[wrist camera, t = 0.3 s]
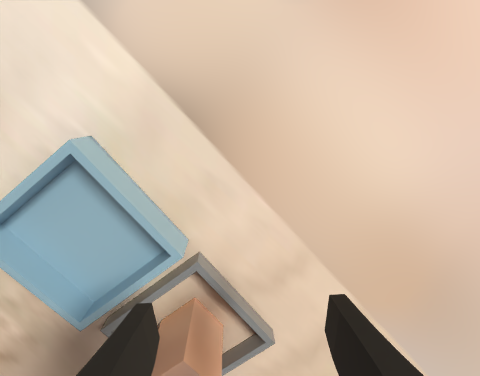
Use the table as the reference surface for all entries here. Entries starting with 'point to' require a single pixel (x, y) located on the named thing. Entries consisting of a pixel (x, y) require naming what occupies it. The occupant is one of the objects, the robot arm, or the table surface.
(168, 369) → the terracotta block
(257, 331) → the charcoal square frame
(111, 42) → the table surface
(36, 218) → the slate-blue tray
